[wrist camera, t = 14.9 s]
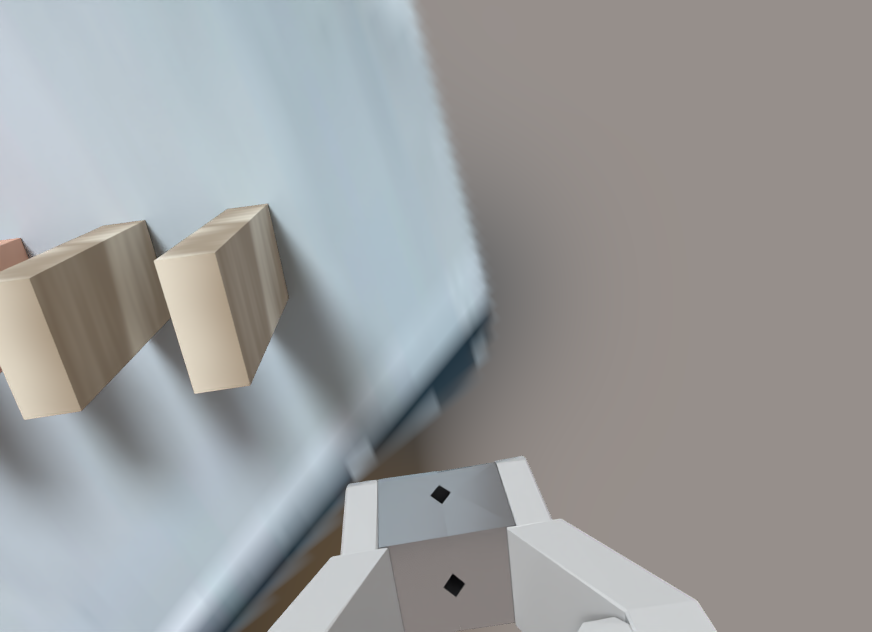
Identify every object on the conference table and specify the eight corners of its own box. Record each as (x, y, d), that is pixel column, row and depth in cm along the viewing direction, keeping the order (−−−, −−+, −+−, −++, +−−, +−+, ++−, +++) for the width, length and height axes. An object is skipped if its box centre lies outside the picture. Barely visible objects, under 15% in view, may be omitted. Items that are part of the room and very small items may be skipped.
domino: (135, 320, 29) (24, 420, 20) (103, 225, 28) (-35, 286, 18) (173, 314, 29) (81, 411, 20) (145, 220, 28) (29, 278, 18)
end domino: (250, 303, 30) (194, 394, 20) (227, 208, 28) (153, 260, 19) (288, 298, 30) (250, 385, 20) (267, 203, 28) (214, 252, 19)
